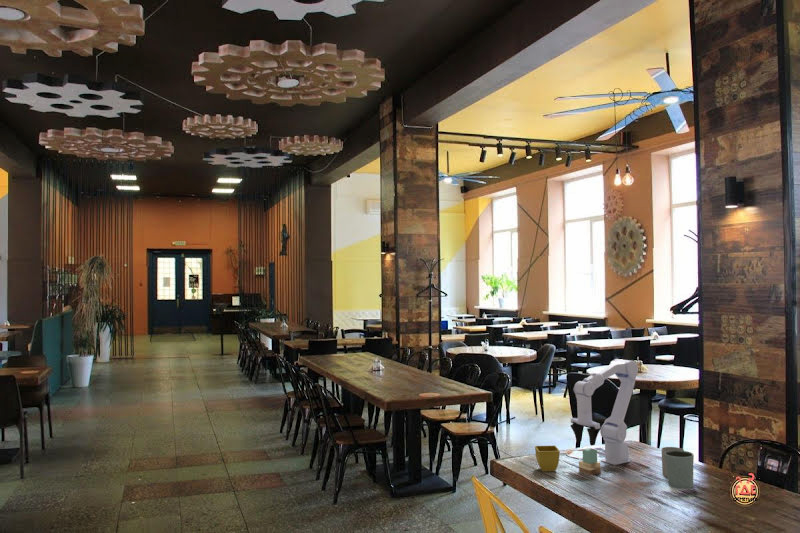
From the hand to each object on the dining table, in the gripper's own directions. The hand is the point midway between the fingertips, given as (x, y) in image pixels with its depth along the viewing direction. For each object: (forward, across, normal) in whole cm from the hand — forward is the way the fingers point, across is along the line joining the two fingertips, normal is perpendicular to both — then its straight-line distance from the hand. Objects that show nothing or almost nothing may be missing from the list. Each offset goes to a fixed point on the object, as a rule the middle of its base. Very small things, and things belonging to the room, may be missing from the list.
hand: (585, 443), depth 275 cm
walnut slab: (+11, +5, -3) cm, 12 cm away
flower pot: (+10, -7, -15) cm, 20 cm away
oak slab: (+8, +5, -3) cm, 10 cm away
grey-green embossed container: (+11, +36, +11) cm, 39 cm away
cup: (+11, +26, +20) cm, 35 cm away
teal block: (+6, +5, -3) cm, 9 cm away
